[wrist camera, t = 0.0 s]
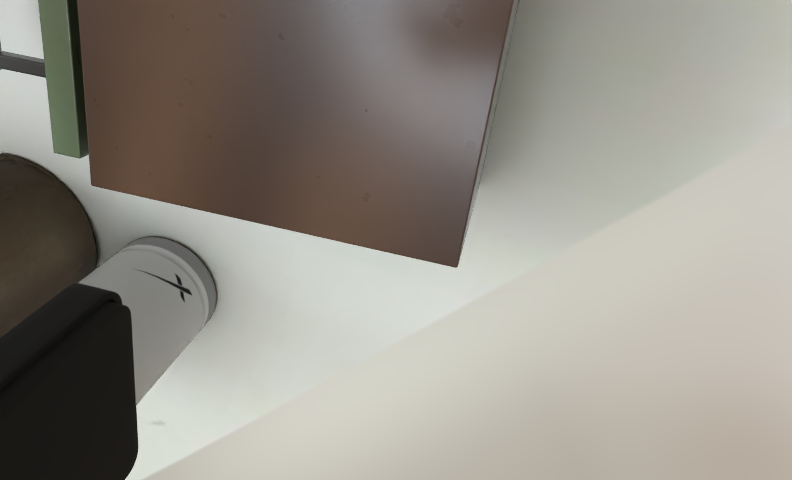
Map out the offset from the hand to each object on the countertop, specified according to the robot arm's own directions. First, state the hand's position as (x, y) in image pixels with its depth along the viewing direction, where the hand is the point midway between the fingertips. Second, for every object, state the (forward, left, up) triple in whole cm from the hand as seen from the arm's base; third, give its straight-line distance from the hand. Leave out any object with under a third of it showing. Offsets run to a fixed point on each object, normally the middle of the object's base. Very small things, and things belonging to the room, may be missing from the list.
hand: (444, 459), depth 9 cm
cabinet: (-1, -8, -23) cm, 24 cm away
